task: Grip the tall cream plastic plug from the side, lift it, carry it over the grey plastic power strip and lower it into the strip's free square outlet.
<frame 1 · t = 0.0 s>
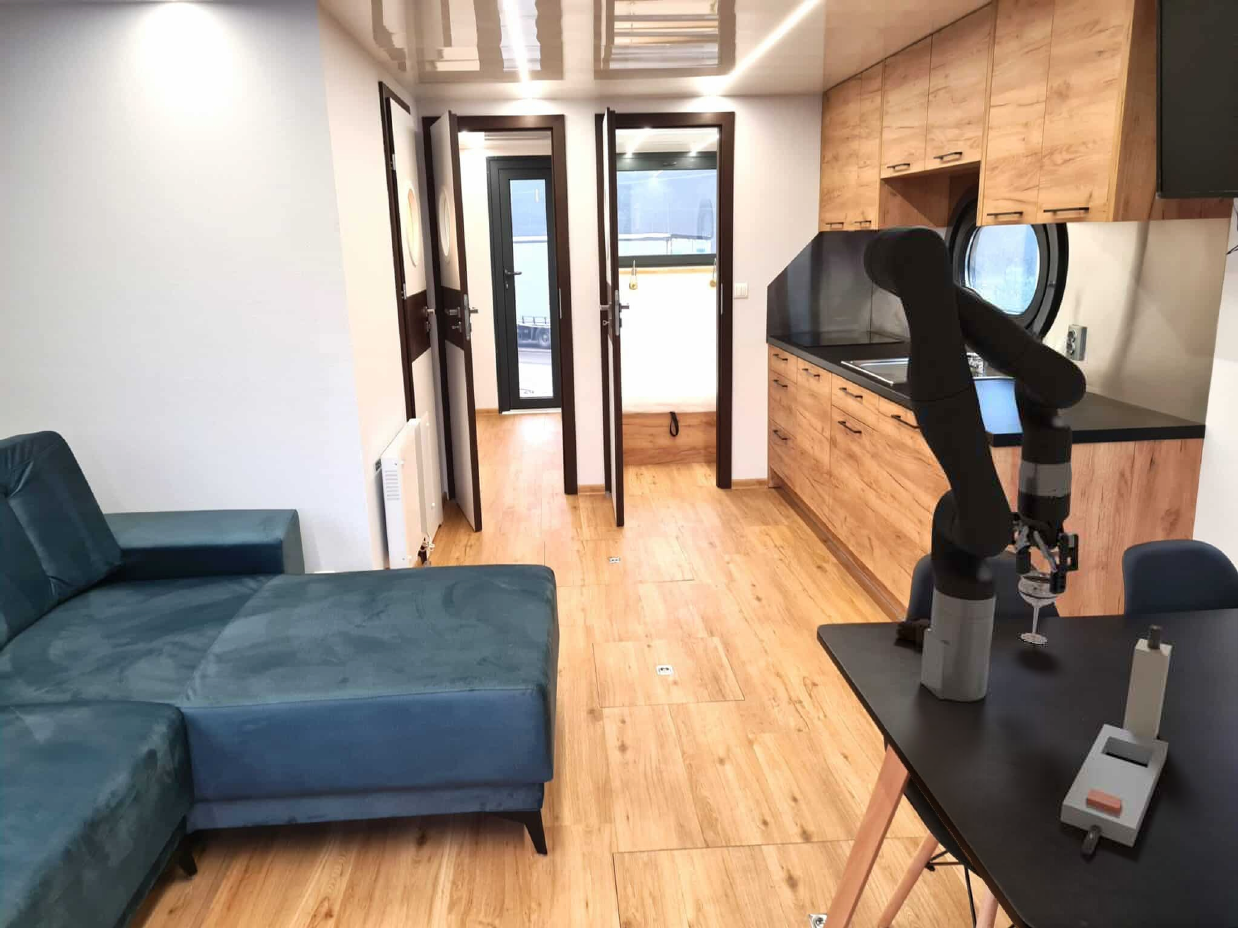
hand: (1039, 583, 143), 17 cm above the table, tool pointing down, fingers open, 8 cm apart
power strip: (1116, 787, 118), on the table
wineglass: (1032, 639, 162), on the table
plug: (1140, 734, 131), on the table
bolt: (939, 647, 160), on the table
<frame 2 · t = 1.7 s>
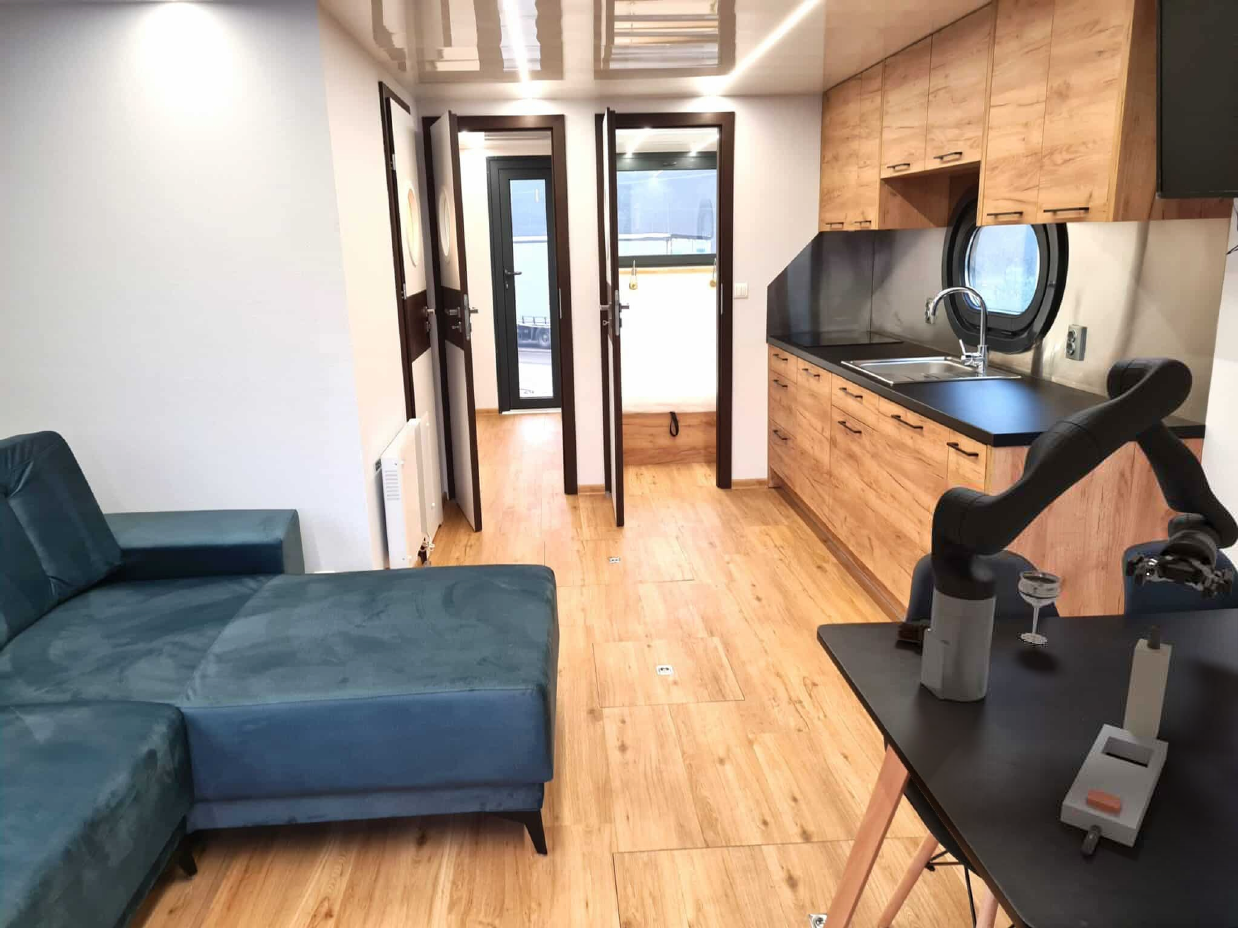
hand: (1172, 586, 134), 20 cm above the table, tool horizontal, fingers open, 8 cm apart
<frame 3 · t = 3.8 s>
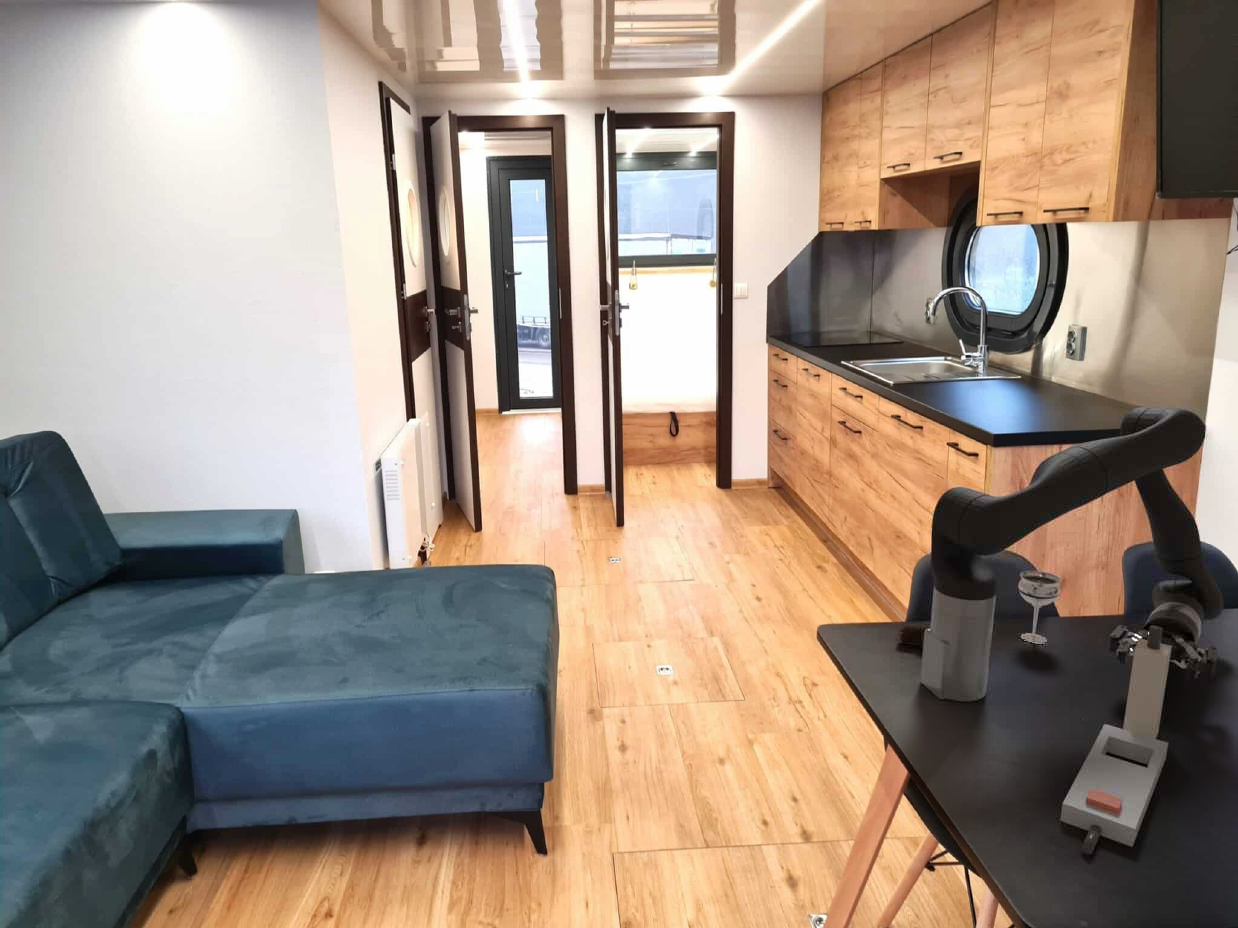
hand: (1155, 666, 133), 8 cm above the table, tool horizontal, fingers open, 8 cm apart
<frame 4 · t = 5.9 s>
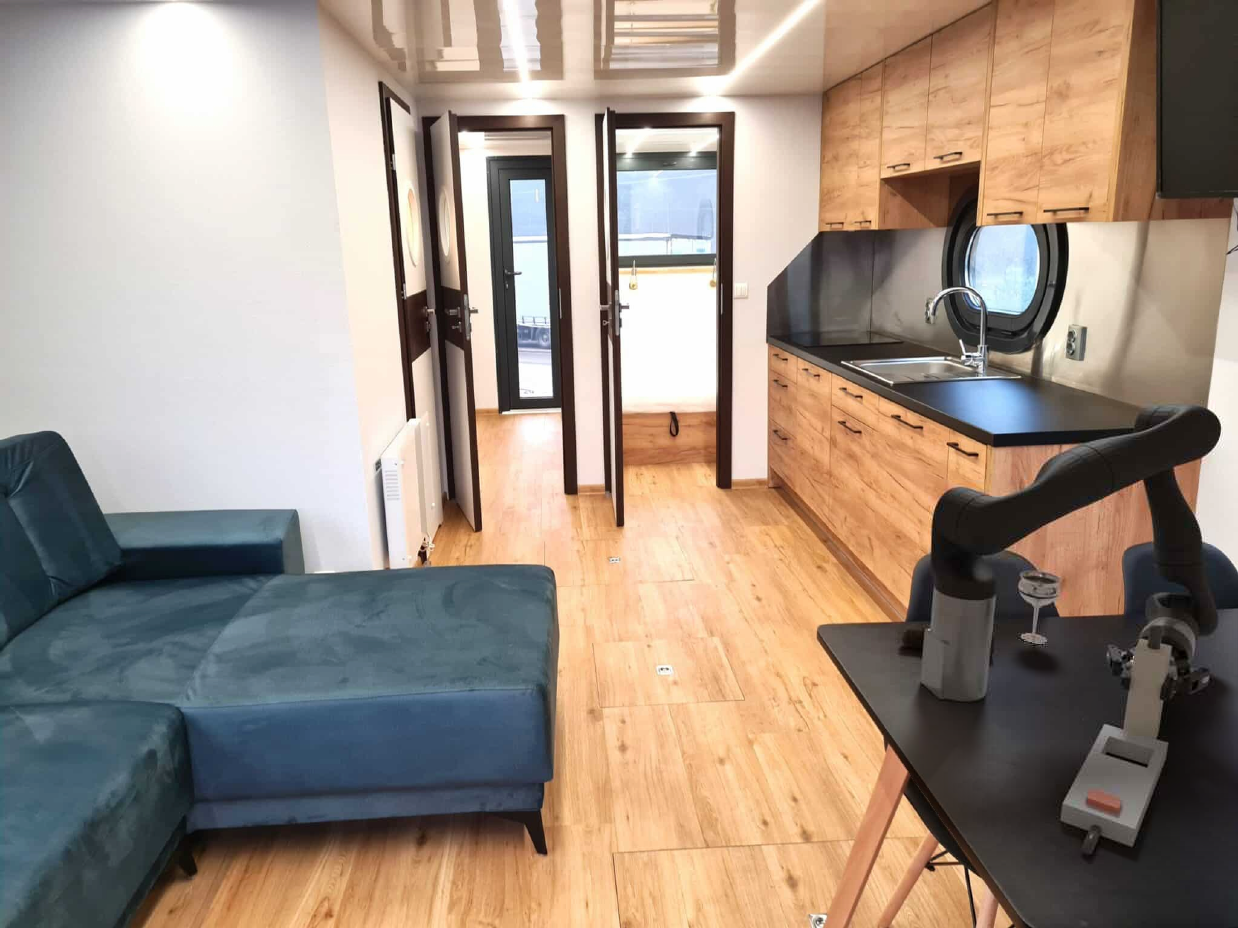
hand: (1145, 688, 127), 9 cm above the table, tool horizontal, fingers closed on plug, 4 cm apart
plug: (1140, 734, 131), on the table, touching gripper
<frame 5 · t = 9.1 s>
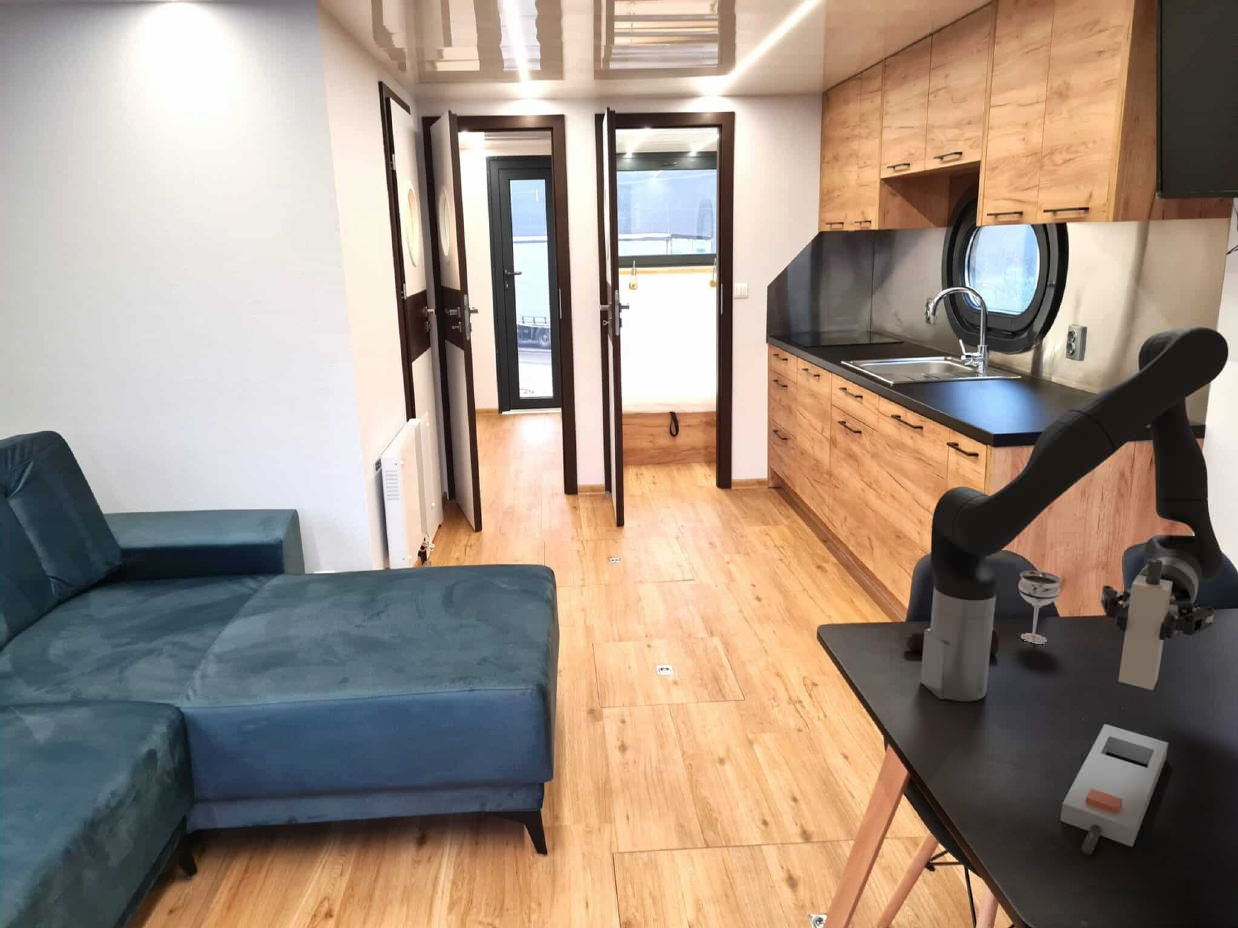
hand: (1143, 628, 115), 22 cm above the table, tool horizontal, fingers closed on plug, 4 cm apart
plug: (1138, 679, 119), point 13 cm above the table, touching gripper
when the fingers open (9 cm above the table, at t = 12.3 s): plug stays where it is, resting in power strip.
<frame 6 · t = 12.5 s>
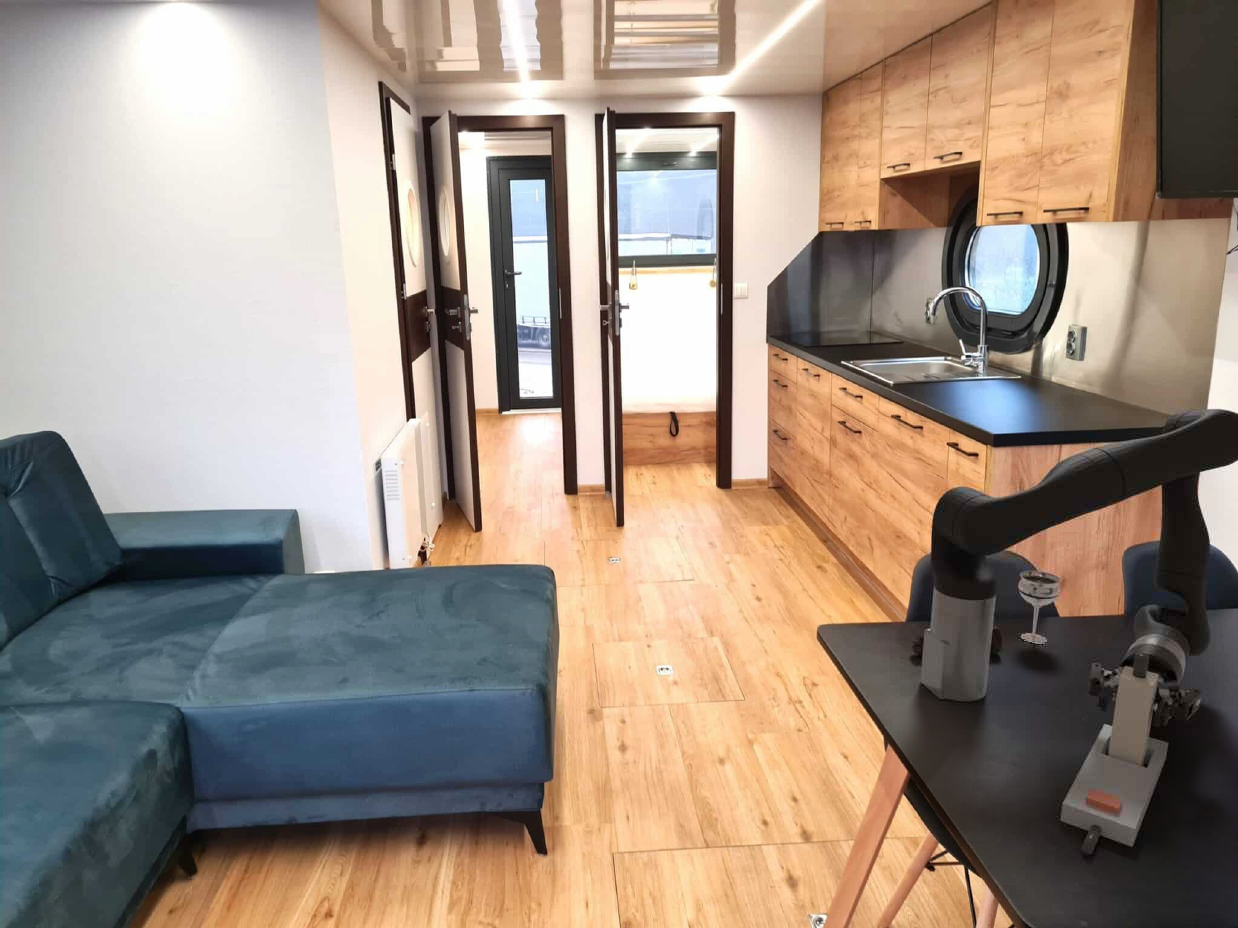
hand: (1130, 712, 118), 9 cm above the table, tool horizontal, fingers open, 5 cm apart
plug: (1125, 767, 122), resting in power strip
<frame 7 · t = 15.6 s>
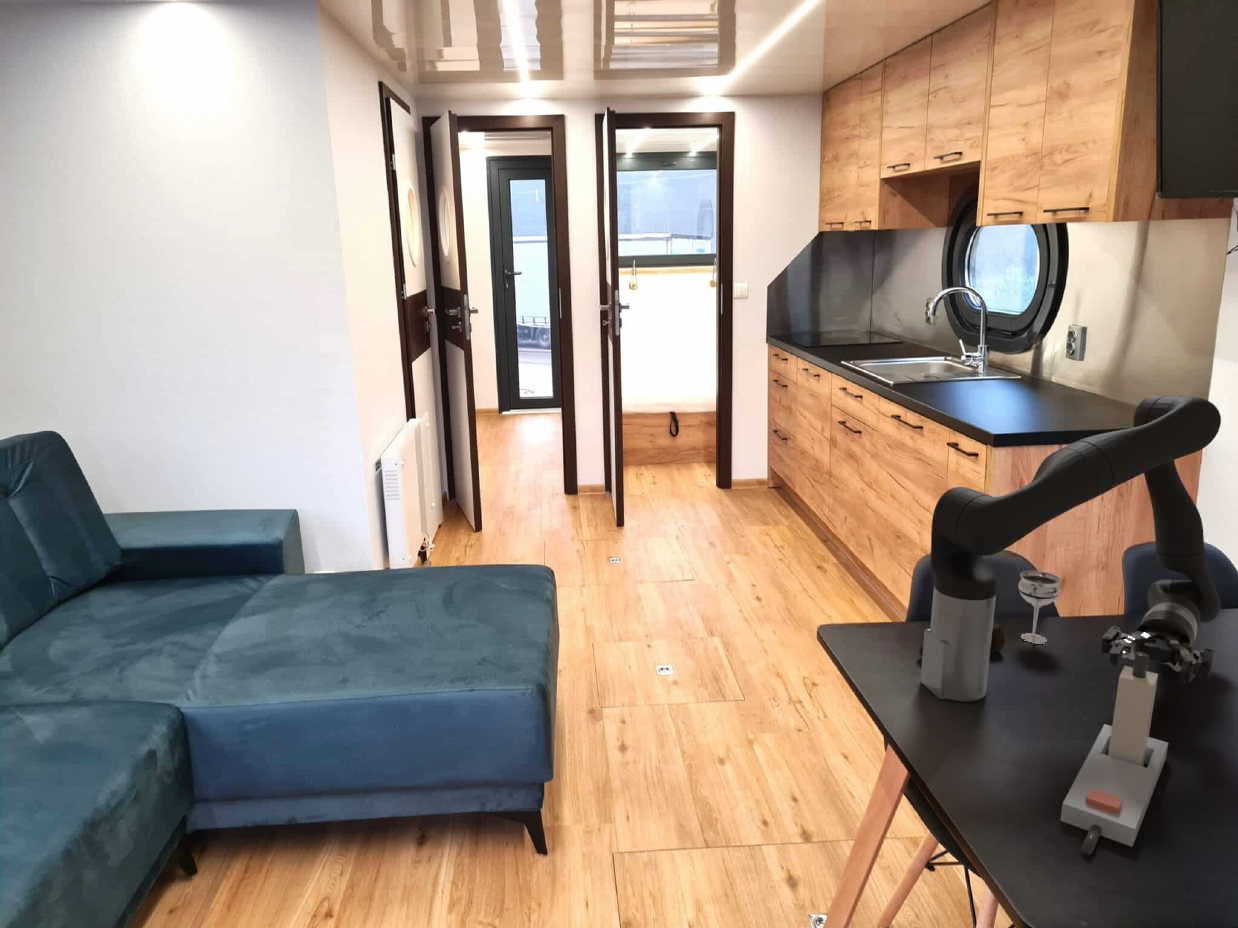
hand: (1148, 668, 129), 10 cm above the table, tool horizontal, fingers open, 8 cm apart
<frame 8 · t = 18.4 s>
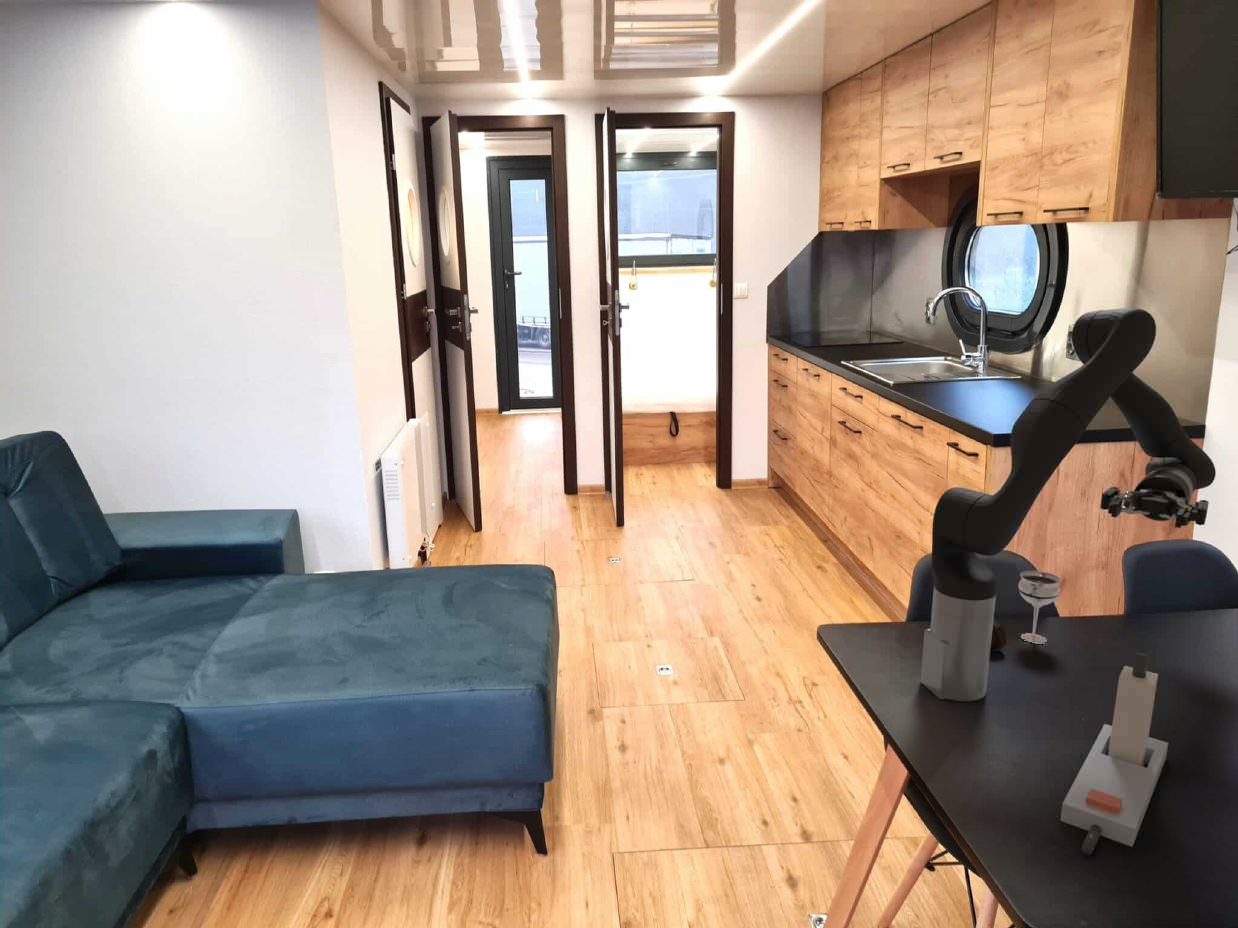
hand: (1145, 516, 135), 30 cm above the table, tool horizontal, fingers open, 8 cm apart
at the end: plug 0.0 cm from the target spot on the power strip, point 0.0 cm above the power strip's base; plug tilted 0°; the gripper is holding nothing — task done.
